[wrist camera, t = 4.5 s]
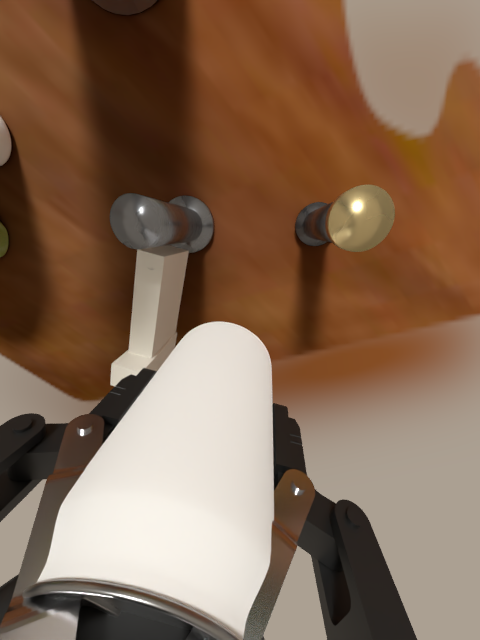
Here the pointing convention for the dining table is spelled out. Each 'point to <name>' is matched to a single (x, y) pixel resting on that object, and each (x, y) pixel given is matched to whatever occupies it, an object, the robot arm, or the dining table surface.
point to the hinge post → (161, 222)
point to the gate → (153, 310)
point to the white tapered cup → (4, 142)
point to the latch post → (348, 219)
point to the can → (178, 494)
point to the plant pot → (3, 240)
